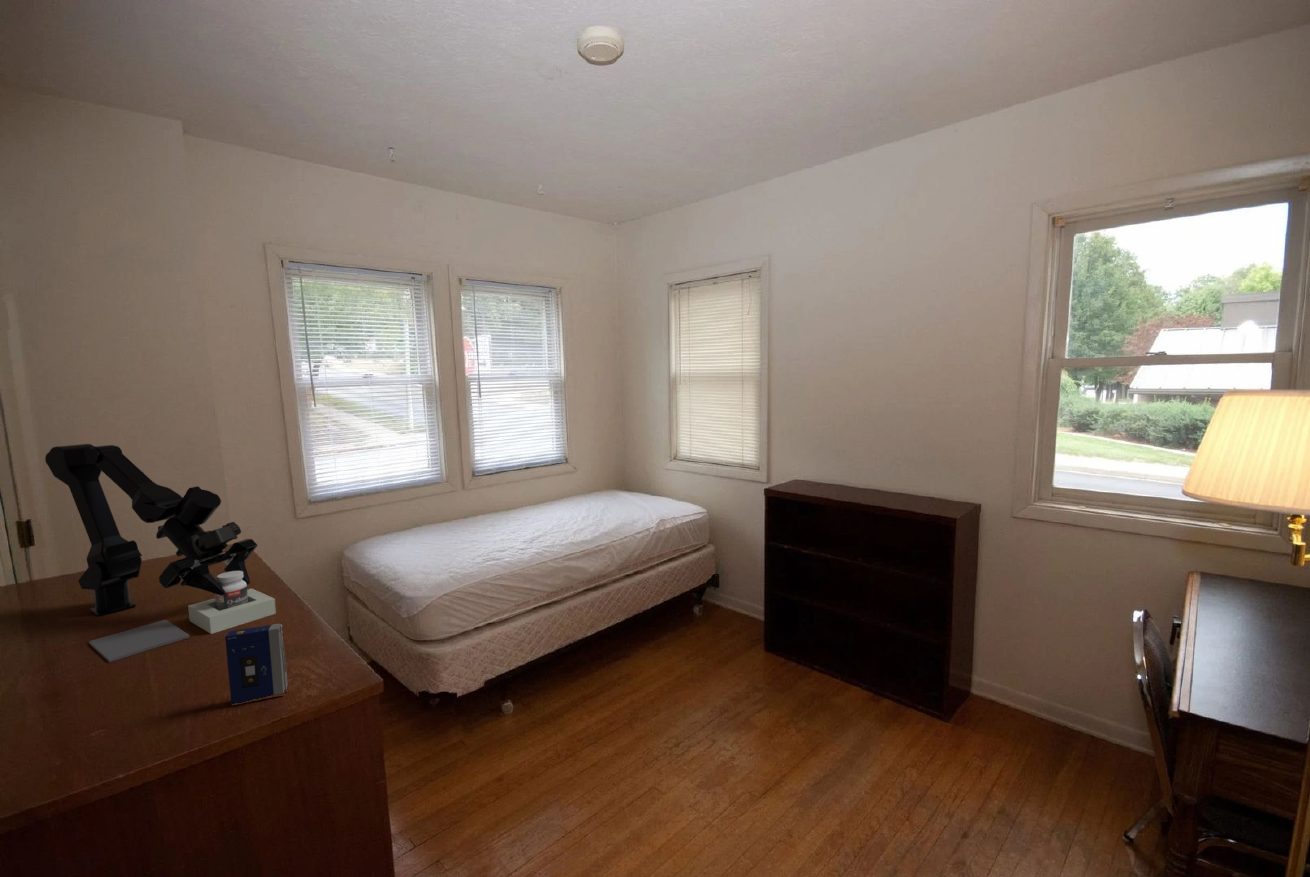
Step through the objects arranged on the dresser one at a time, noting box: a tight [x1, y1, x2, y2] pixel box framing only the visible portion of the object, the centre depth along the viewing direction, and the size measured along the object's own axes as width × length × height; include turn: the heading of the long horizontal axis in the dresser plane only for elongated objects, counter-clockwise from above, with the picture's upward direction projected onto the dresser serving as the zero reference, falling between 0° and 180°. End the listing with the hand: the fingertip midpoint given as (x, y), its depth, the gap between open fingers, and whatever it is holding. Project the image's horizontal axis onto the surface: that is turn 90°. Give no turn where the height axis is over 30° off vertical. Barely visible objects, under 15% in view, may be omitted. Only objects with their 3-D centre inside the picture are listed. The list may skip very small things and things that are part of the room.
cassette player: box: [224, 622, 289, 705], centre depth 90 cm, size 7×2×12 cm, turn 114°
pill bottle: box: [214, 571, 248, 611], centre depth 122 cm, size 6×6×10 cm
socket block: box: [187, 588, 277, 635], centre depth 122 cm, size 12×12×4 cm
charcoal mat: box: [88, 619, 190, 663], centre depth 111 cm, size 14×12×1 cm
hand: (236, 589), depth 121 cm, fingers closed on pill bottle, 6 cm apart
